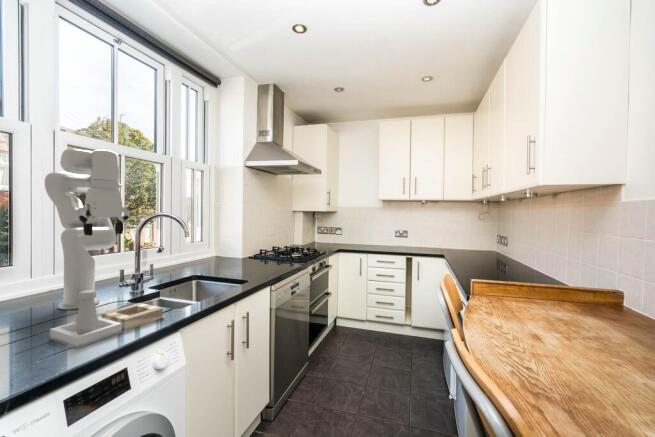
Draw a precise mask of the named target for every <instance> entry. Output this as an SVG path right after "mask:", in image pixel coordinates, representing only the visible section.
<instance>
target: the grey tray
mask: <svg viewBox="0 0 655 437" xmlns="http://www.w3.org/2000/svg"><path fill="white" fill-rule="evenodd" d="M97 318H98V322H99V325H98V327H97V329H96V330H94V331H91V332H88V333H85V334H82V335H79V334H77V333H76V331H75V329H74V327H75V323H76V321H73V322H70V323H67V324H62V325H59V326H56V327H53V328H50V329H49V339H50V340H51V341H55V342H57V343H60V344H63V345H66V346H68V347H71V348H73V349H80V348H83V347H86V346H88V345H89V346H90V344H94V343H97V342H100V341H103V340H106V339H109V338H111V337H114V336H117V335H119V334H122V333H123V330H122V323H119V322H116V321H112V320H108V319H105V318H102V316H97Z"/></svg>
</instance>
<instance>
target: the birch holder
mask: <svg viewBox="0 0 655 437" xmlns="http://www.w3.org/2000/svg"><path fill="white" fill-rule="evenodd" d="M101 318H105V319H108V320H112V321H116V322H119V323H122V331H128V330H131V329H134V328H137V327H139V326H143V325H145V324H148V323H151V322H154V321H157V320H159V319H162V318H164V308H163V307H161V306H155V305H152V304H146V303H142V302H137V303H134V304H129V305H127V306H123V307H119V308H116V309H113V310H108V311H106V312H102V313H101Z"/></svg>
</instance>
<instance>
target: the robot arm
mask: <svg viewBox="0 0 655 437" xmlns="http://www.w3.org/2000/svg"><path fill="white" fill-rule="evenodd" d="M60 166H61V168H62V170H64V171H54V172H50V173H47V175H46V176H45V178H44V188H45V191H46V192H45V193H46V194H47V196H48V197H49V200H51V202H52V203H53V204H54V206H55V208H56V210H57V213H58V217H59V218H58V219H59V222H60V223H61V226H62V227H63V228H64V229H63V232H61V235H60V242H61V247H62V253H63V294H62V298H63V301H61V302H60V303H59V304H58V305H57V308H58V309H60V310H67V311H68V310H69V311H70V310H77V309H78V310H79V306H80V302H81V300H79V299H78V295H79V293H80V292H83V291H87V290H93V291H95V290H96V289H95V288H96V287H95V286H96V283H95V282H96V281H95V280H96V261H95V258H94V257H93V256H92V255H91V254H90V253H89V252H88V251H94V250H105V249H111V248H113V247H115V245H116V243H117V235H122V234H124V233H123V232H124V223H125V222H127V220H128V219H129V217H130V215H131V212H132V211H130V210H129V209H127V208H125V207H123V202H122V201H123V200H122V195H121V190H119V189H121V188H122V184H120V183H119V154H118V153H116V152H115V151H112V150H107V149H94V150H92V151H91V150H83V149H77V148H66V149H65V150H63V152H61V155H60ZM73 193H80V194H86V195H85V199H84V205H83V202H82V201H81V199H80V198H78V197H77V196H75V194H73ZM111 219H114V220H115V221H116V222H115V224H114V225H115V226H113V223H112V220H111ZM114 227H115V228H114ZM95 292H96V291H95ZM94 303H95V305H97V304H99V303H100V298H98V297H96V298H94Z"/></svg>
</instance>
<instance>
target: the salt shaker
mask: <svg viewBox="0 0 655 437" xmlns="http://www.w3.org/2000/svg"><path fill="white" fill-rule="evenodd" d="M94 298H97V292H96V291H93V290H87V291H83V292H80V293H79V295H78V299H79V300H81V302H80V306H79V309H78V312H77V315H76V318H75V319H76V320H75V322H76V323H75V327H74V329H75V331H76V333H77V334H79V335H82V334H85V333H88V332H91V331H94V330H96V329H97V327H98V325H99V322H98V318H97V317H98V314H97V313H98V312H97V308H96V304H95V303H94Z"/></svg>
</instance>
